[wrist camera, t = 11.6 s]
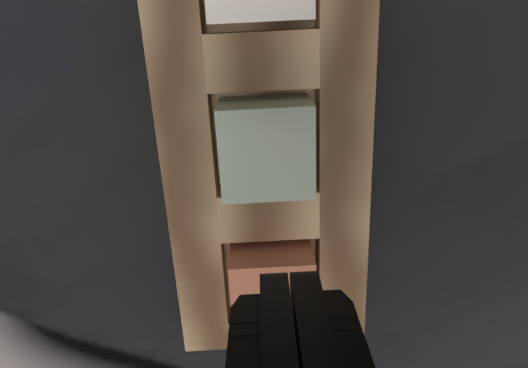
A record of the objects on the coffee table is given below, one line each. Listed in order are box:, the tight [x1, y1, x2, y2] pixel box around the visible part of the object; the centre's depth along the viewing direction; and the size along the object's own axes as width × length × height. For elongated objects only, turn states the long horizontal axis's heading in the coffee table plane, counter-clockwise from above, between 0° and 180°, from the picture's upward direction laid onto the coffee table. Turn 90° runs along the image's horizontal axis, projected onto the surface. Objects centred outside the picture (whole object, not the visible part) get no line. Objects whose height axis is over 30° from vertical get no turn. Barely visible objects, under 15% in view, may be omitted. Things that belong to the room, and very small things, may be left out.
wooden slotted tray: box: [137, 0, 380, 351], centre depth 26 cm, size 12×28×2 cm, turn 3°
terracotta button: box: [228, 239, 316, 307], centre depth 28 cm, size 5×5×4 cm
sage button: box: [214, 93, 316, 205], centre depth 24 cm, size 5×5×4 cm
